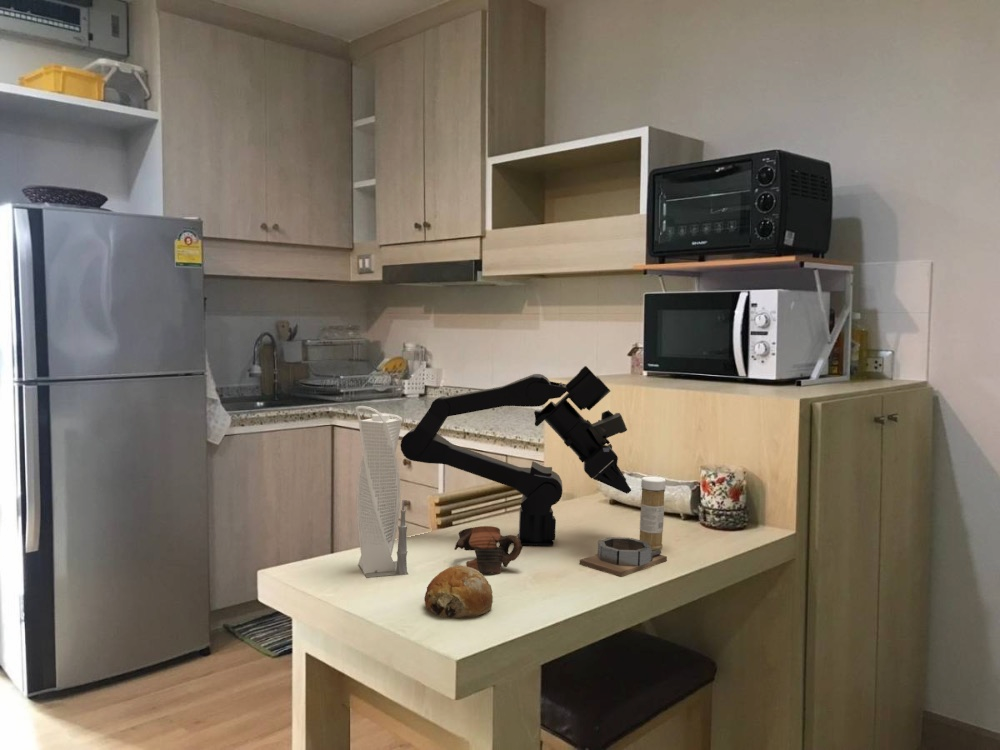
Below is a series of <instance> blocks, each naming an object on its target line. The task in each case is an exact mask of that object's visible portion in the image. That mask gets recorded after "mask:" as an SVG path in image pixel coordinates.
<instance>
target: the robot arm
mask: <svg viewBox="0 0 1000 750" xmlns="http://www.w3.org/2000/svg"><path fill="white" fill-rule="evenodd" d="M610 392H611V390H610V388H608V386H607V385H606V384H605V383H604V382H603V381H602V380H601V379H600V377H599V376H597V375H596V374H595V373H593V371H591V369H589V367H588V366H587V365H584V366H583V367H582V368H581V369H580V370H579V372H578V373H577V374H576V375H575V376H574V377H573V378H571V379H570V380H569V381H568V382H567V383H563V382H555V381H550V379H549V378H548V377H547V376H545V375H543V374H540V373H534V374H530V375H528V376H524V377H523V378H519V379H517V380H515V381H513V382H510V383H508V384H505V385H502V386H496V387H492V388H487V389H482V390H481V389H480V390H476V391H471V392H466V393H458V394H454V395H448V396H445V395H444V396H440V397H439V396H438V397H437V398H435V399H434V400H433V401H432V402H431V404H430V407H429V409H428V410H427V412H426V413H425V414H424V416H423V417H422V418H421V420H420V421H419V422H418V424H417V426H415V427H413V428H412V429H411V430H409V431H408V432H407V433H406V434H404V436H403V437H402V439H401V441H400V450H401V451H400V452H402V454H403V455H402V456H404V457H405V458H406V459H407V460H409V461H412V462H418V463H424V464H434V465H437V464H438V465H446V466H449V467H451V468H454V469H457V470H460V471H463V472H466V473H469V474H472V475H476V476H478V477H481V478H483V479H487V480H490V481H493V482H495V483H499V484H500V485H504V486H506V487H510V488H512V489H514V490H515V491H517V492H519V494H522V496H521V501H520V506H519V511H518V513H519V515H518V516H519V518H518V533H517V536H516V537H517V538H519V539H520V541H521V546H547V547H549V546H551V547H552V546H554V541H555V540H556V521H557V520H556V517H555V516H554V510H553V508H552V506H554V505H556V504H558V502H560V500H561V498H562V496H563V480H562V478H561V477H560V475H559V474H558V473H557V472H555V471H553V467H552V466H544V465H541V464H540V463H538V462H537V461H536V462H535V461H534V460H533V461H531V466H530V467H523V466H517V465H514V464H512V463H509V462H506V461H503V460H501V459H497V458H495V457H494V458H493V457H491V456H488V455H486V454H482V453H480V452H477V451H474V450H472V449H468V448H465V447H462V446H459V445H456V444H454V443H452V442H451V441H449V440H448V439H446V438H445V437H443V436H442V435H441V434H438V433H439V431H440V430H441V428H442V426H443V424H444V423H445V421H446V420H447V418H448V417H453V416H457V415H458V416H459V415H464V414H469V413H475V412H480V411H486V410H490V409H495V408H501V407H521V408H522V407H524V408H525V407H526V408H527V407H529V408H530V407H541V406H544V405H546V404H547V405H546V406H545V407H543V408H542V409H541V410H534V411H533V412H534V413H533V415H534V418H535V419H534V426H535V427H538V426H540V425H541V424H542V423H543V422H544V421H545V422H546V424H548V426H549V427H550V428H551V429H552V430H553V431H554V433H556V434H557V435H558V436H559V437H560V439H562V441H563V443H564V444H565V446H566V447H567V448H568V447H569V448H570V449H571V450H572V451H573V453H574V454H576V456H577V457H578V459H579V461H580V462H582V463H583V470H584V473H586V475H587V476H588V477H589V478H590V479H592V480H594V481H597V482H600V483H602V484H605V485H607V486H609V487H611V488H613V489H615V490H618V491H620V492H622V493H624V494H629V493H630V492H631V491H632V488H631V487H630V485H629V484H628V481H627V478H626V477H625V476H624V474H623V472H622V470H621V469H620V467H619V465H618V461H619V457H618V455H617V454H616V451H614V450H613V445H612V443H611V442H610V440H609V439H608V438H610V437H613V436H615V435H618V434H623V433H625V432H627V431H628V428H627V425H626V423H625V420H624V418H623V416H622V414H621V413H620V412H615V413H613V412H611V411H610V410H606V411H603V412H601V419H598V421H596V422H594V423H592V422H590V420H589V419H585V418H584V417H583V416H582V415H581V414H580V413H579V412H578V411H577V410H576V409H575V408H574V406H573V405H572V404H571V403H570V402H569V401H568V399H569V400H570V401H571V402H572V403H573V404H574V405H575V406H576V407H577V409H579V410H580V411H583V410H585V409H586V410H588V411H591V410H592V409H593V408H594V407H595V406H596V405H598V403H599V402H600V401H602V400H603V399H604V398H605V397H606V396H607V395H608V394H609V393H610ZM561 397H562V398H561ZM559 398H561V399H560V400H558V401H557V402H556V403H555V402H554V401H550V402H549V403H548V401H549V400H552V399H559Z"/></svg>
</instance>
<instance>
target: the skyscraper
mask: <svg viewBox="0 0 1000 750" xmlns="http://www.w3.org/2000/svg"><path fill="white" fill-rule="evenodd" d="M354 409H355V412H356V416H357V420H358V428H359V434H360V435H359V436H360V441H361V449H362V457H361V462H360V467H359V472H358V480H357V490H356V493H357V494H356V497H357V498H356V511H357V513H356V516H357V528H358V539H359V546H360V547H359V548H360V549H359V550H360V558H359V561H358V563H357V566H358V568H359V569H360V570H361V572H362V573H363V575H364V577H365V578H366V579H371V578H383V577H394V576H403V575H404V576H407V575H409V573H408V567H407V566H408V565H407V555H408V551H407V549H408V547H407V541H408V540H407V530H408V525H406V509H405V499H402V502H401V495H402V493H401V489H402V488H401V478H400V477H401V475H400V469H399V463H398V458H397V454H396V452H397V447H398V442H399V437H400V433H401V428H402V423H403V418H402V417H401V416H400V415H397V414H394V413H388V412H380V411H379V410H377V409H375V408H373V407H370V406H367V405H358V406H356V407H355V408H354ZM360 410H368V411H372V412H373V413H374V414H373V413H372V414H371V418H367V419H361V415H360V412H359V411H360ZM390 417H391V418H390ZM395 418H396V419H395ZM401 503H402V507H401ZM401 508H402V509H401ZM400 509H401V510H400ZM399 520H400V524H399ZM397 531H398V539H397V540H398V541H397V551H396V556H397V559H396V561H395V560H393V557H392V555H393V554H392V553H393V549H394V545H395V541H396V537H397Z"/></svg>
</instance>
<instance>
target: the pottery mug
mask: <svg viewBox="0 0 1000 750" xmlns="http://www.w3.org/2000/svg"><path fill="white" fill-rule="evenodd" d="M498 543H499V545H497V544H498ZM511 545H513V547H512V550H511V552H510V553H509V549H510V546H511ZM458 548H459V549H461V550H465V551H474V553H475V555H476V558H474V559H471V560H467V561H466V562H465V566H466V567H471V568H473V569H476V570H477V571H479V572H480V573H481V574H495V575H496V574H498V575H500V574H501V572H502V571H501V570H502V566H503V567H504V568H507V566H509V564H510V562H512V561H515V560H516V559H517V558H518V557H519V556H520V554H521V552H522V549H523V545H521V541H520V539H519V538H518V536H516V535H512V534H509V535H504V536H503V535H501V529H500V528H499V527H497V526H491V525H489V526H488V525H484V526H483V525H480V526H473V527H468V528H465V529H462V530H460V531H459V532H458V540H457V541H456V543H455V546H454V550H455V551H456V550H458Z"/></svg>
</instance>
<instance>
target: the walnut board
mask: <svg viewBox="0 0 1000 750" xmlns="http://www.w3.org/2000/svg"><path fill="white" fill-rule="evenodd" d="M667 559H668V556H667V555H663V554H660V555H657V556H654V557H653V560H652V561H651V562H649V563H646V564H644V565H641V566H619V565H614V564H611V563H607V562H604V561H601V560H600V559H599V557H598V553H596V554H594V555H590V556H588V557H584V558H581V559H579V565H581V564H582V565H581V566H584V565H585V567H587V566H588V568H591V569H594V570H597V571H601V572H604V573H608V574H610V575H614V576H617V577H625V576H628V575H631V574H633V573H637V572H639V571H641V570H644V569H648V568H650V567H653V566H656V565H659V564H661V563H664V562H667V561H668V560H667Z"/></svg>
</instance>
